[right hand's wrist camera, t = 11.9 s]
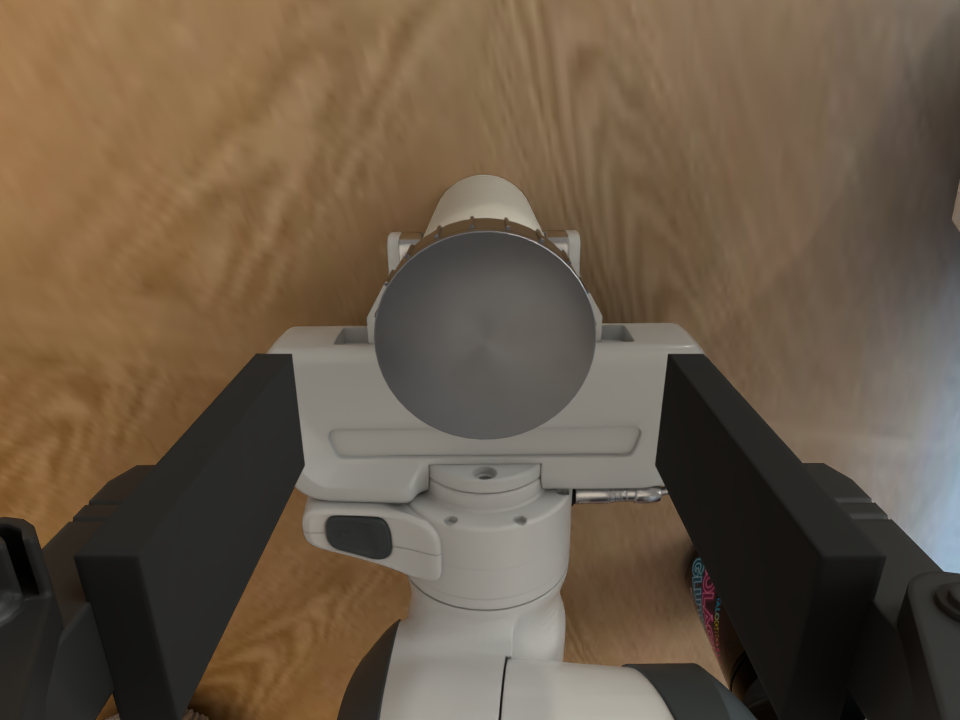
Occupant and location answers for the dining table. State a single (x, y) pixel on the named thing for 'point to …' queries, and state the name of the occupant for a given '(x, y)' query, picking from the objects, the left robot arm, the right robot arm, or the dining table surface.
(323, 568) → the dining table surface
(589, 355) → the lid
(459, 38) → the dining table surface
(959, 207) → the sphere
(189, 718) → the seashell
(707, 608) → the supplement container
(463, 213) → the jar
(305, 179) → the dining table surface
